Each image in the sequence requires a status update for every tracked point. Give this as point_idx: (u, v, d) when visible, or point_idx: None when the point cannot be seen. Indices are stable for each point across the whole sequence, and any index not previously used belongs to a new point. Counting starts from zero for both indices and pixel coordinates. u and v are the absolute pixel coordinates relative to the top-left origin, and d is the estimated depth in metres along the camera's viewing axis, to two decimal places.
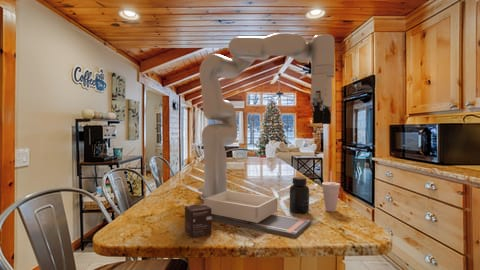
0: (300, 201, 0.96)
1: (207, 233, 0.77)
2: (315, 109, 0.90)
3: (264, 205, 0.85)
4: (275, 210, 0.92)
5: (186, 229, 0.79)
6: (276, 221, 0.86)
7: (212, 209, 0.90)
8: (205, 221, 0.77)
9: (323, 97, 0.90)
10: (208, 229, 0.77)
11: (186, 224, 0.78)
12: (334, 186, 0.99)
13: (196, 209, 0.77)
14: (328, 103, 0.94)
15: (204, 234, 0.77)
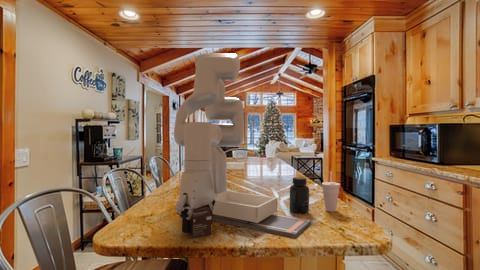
0: (300, 201, 0.96)
1: (207, 233, 0.77)
2: (182, 217, 0.74)
3: (264, 205, 0.85)
4: (275, 210, 0.92)
5: None
6: (276, 221, 0.86)
7: None
8: (205, 221, 0.77)
9: (190, 202, 0.74)
10: (208, 229, 0.77)
11: None
12: (334, 186, 0.99)
13: (196, 209, 0.77)
14: (203, 204, 0.78)
15: (204, 234, 0.77)
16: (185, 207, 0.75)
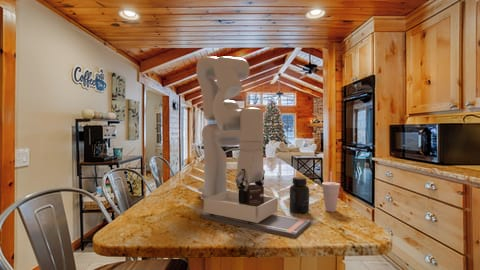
0: (300, 201, 0.96)
1: None
2: (239, 189, 0.85)
3: (264, 205, 0.85)
4: (275, 210, 0.92)
5: None
6: (276, 221, 0.86)
7: (212, 209, 0.90)
8: (259, 198, 0.89)
9: (248, 176, 0.85)
10: None
11: None
12: (334, 186, 0.99)
13: (251, 187, 0.89)
14: (256, 179, 0.89)
15: None
16: (242, 181, 0.87)
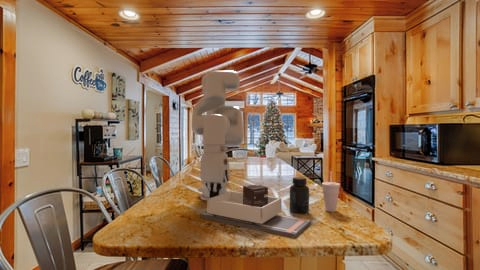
0: (300, 201, 0.96)
1: None
2: None
3: (268, 206, 0.85)
4: (279, 211, 0.91)
5: None
6: (276, 221, 0.86)
7: (216, 210, 0.89)
8: (263, 198, 0.88)
9: (200, 174, 0.99)
10: None
11: (245, 201, 0.89)
12: (334, 186, 0.99)
13: (255, 188, 0.88)
14: (210, 180, 0.96)
15: None
16: None
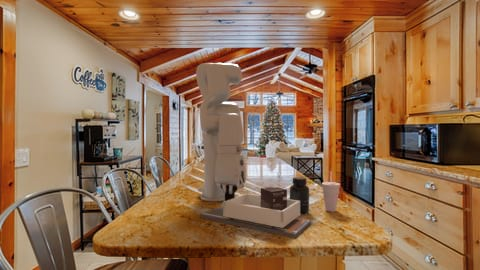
0: (300, 201, 0.96)
1: None
2: None
3: (289, 209, 0.81)
4: (298, 214, 0.88)
5: None
6: None
7: (233, 213, 0.86)
8: (282, 201, 0.85)
9: (215, 176, 0.96)
10: (284, 208, 0.85)
11: (263, 204, 0.86)
12: (334, 186, 0.99)
13: (274, 190, 0.85)
14: (225, 182, 0.93)
15: None
16: None
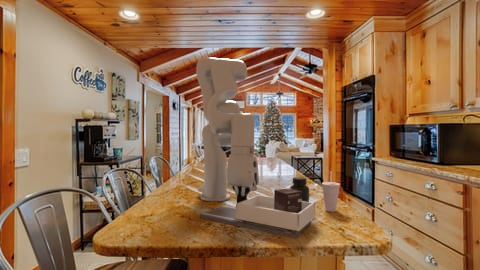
0: None
1: None
2: None
3: (304, 211, 0.79)
4: (313, 216, 0.86)
5: None
6: None
7: (246, 215, 0.83)
8: (297, 203, 0.82)
9: (226, 177, 0.93)
10: (299, 211, 0.83)
11: (277, 206, 0.84)
12: (334, 186, 0.99)
13: (289, 192, 0.82)
14: (238, 183, 0.90)
15: None
16: None
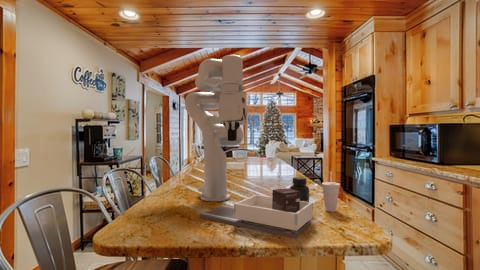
0: None
1: None
2: None
3: (302, 211, 0.79)
4: (311, 216, 0.86)
5: None
6: None
7: (244, 215, 0.84)
8: (295, 203, 0.83)
9: (218, 114, 1.04)
10: (297, 210, 0.83)
11: (275, 206, 0.84)
12: (334, 186, 0.99)
13: (287, 192, 0.82)
14: (228, 118, 1.01)
15: None
16: None
